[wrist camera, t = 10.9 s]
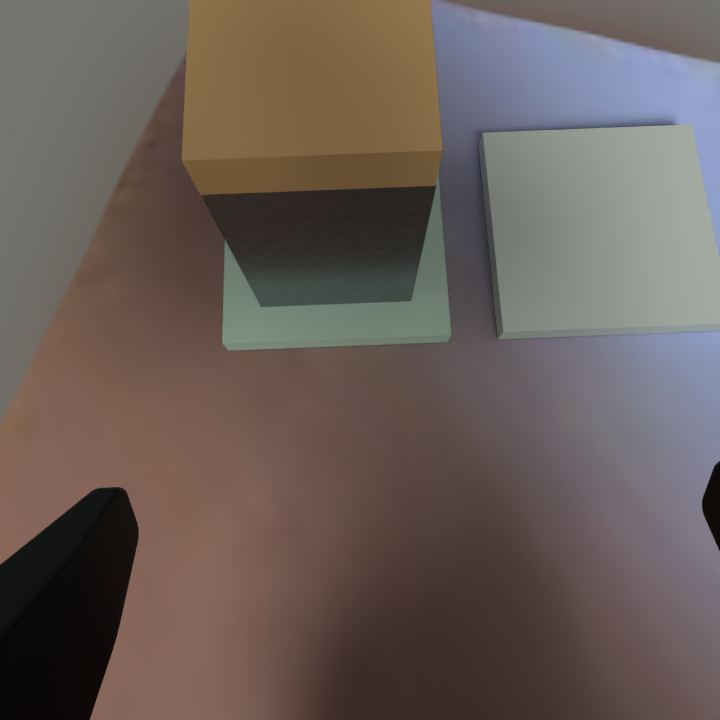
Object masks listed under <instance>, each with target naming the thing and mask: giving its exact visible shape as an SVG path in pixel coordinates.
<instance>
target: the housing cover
mask: <svg viewBox="0 0 720 720" xmlns="http://www.w3.org/2000/svg"><path fill="white" fill-rule="evenodd" d="M442 152H443V146H442V134H441V122H440V110H439V98H438V86H437V74H436V62H435V50H434V38H433V25H432V13H431V1H430V0H189V10H188V32H187V54H186V76H185V98H184V120H183V142H182V162H183V164H184V166H185V168H186V170H187V171H188V173H189V175H190V177H191V179H192V181H193V183H194V185H195V186H196V188H197V190H198V192H199V194H200V195H213V194H238V193H264V192H289V191H315V190H340V189H366V188H391V187H417V186H435V185H436V180H437V175H438V171H439V166H440V161H441V157H442Z"/></svg>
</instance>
